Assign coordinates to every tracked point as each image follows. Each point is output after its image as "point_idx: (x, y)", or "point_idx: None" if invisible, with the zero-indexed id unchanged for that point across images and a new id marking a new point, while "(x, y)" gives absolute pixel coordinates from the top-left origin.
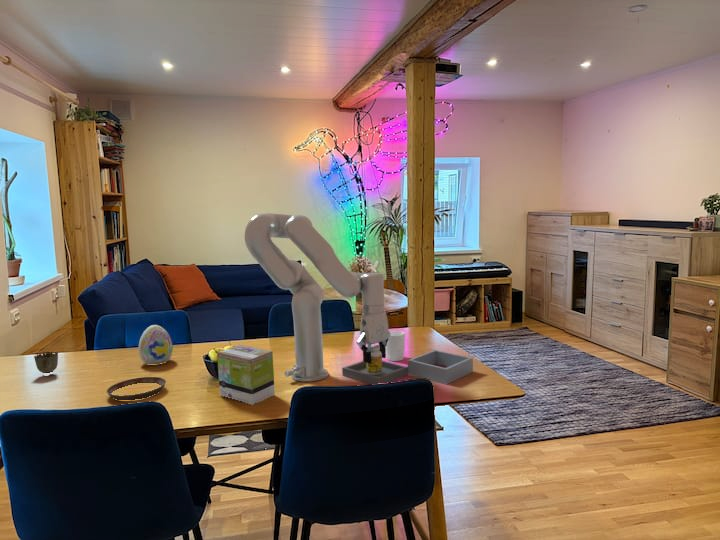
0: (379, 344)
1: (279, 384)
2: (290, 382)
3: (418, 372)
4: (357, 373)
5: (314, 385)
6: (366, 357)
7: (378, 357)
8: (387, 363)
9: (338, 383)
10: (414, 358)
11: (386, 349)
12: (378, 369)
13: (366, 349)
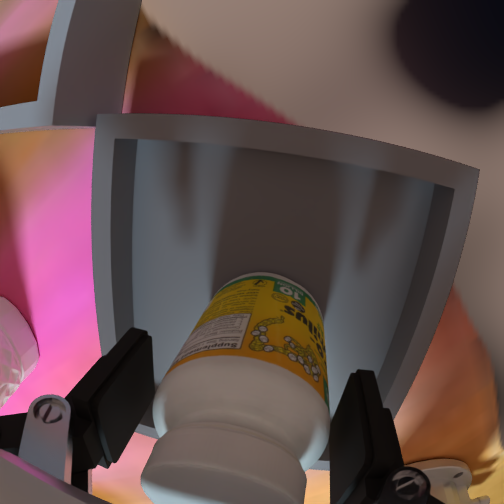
0: (95, 466)
1: (489, 489)
2: (472, 488)
3: (116, 30)
4: (411, 377)
5: (496, 434)
6: (393, 431)
7: (275, 357)
8: (115, 307)
9: (465, 392)
10: (6, 113)
11: (10, 389)
12: (286, 293)
13: (422, 502)
